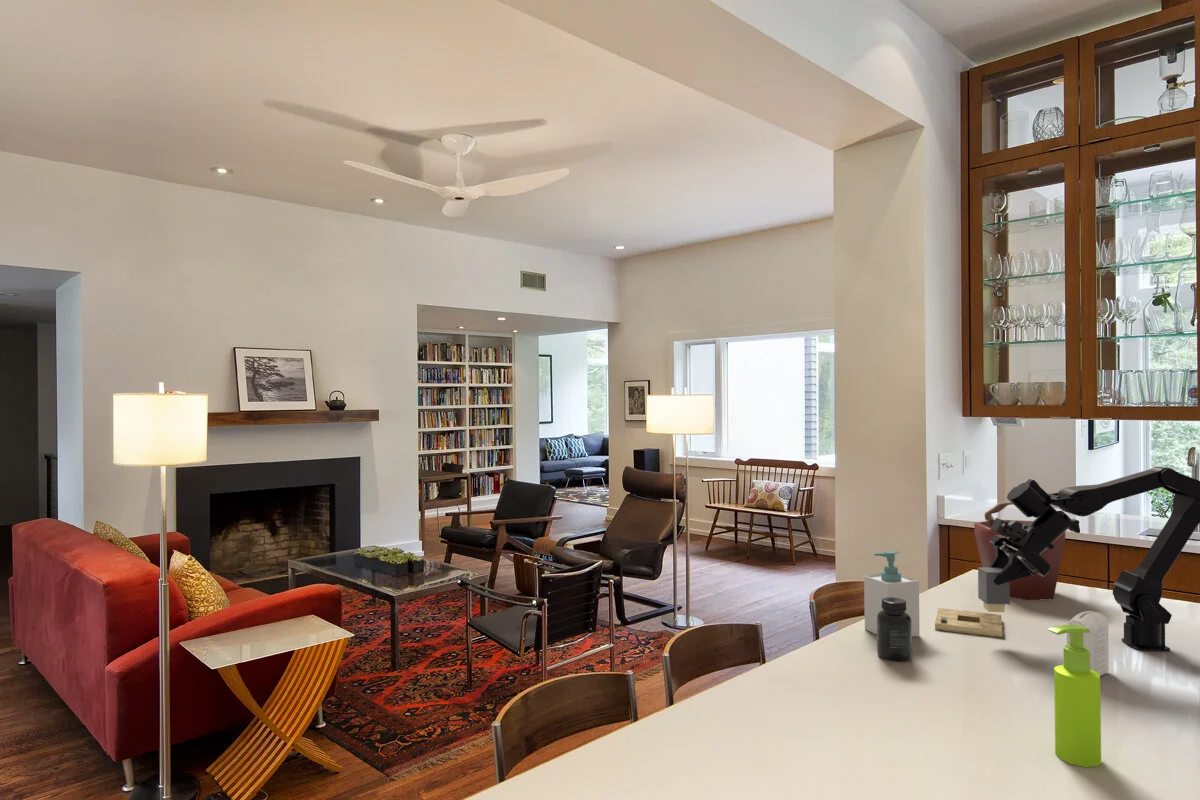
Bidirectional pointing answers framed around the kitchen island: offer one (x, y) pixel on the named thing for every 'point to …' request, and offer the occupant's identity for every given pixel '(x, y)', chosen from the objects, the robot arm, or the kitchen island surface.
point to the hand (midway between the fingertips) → (990, 580)
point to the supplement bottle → (894, 631)
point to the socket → (969, 622)
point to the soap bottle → (890, 593)
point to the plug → (992, 589)
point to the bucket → (1036, 584)
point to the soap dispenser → (1077, 702)
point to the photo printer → (1094, 639)
